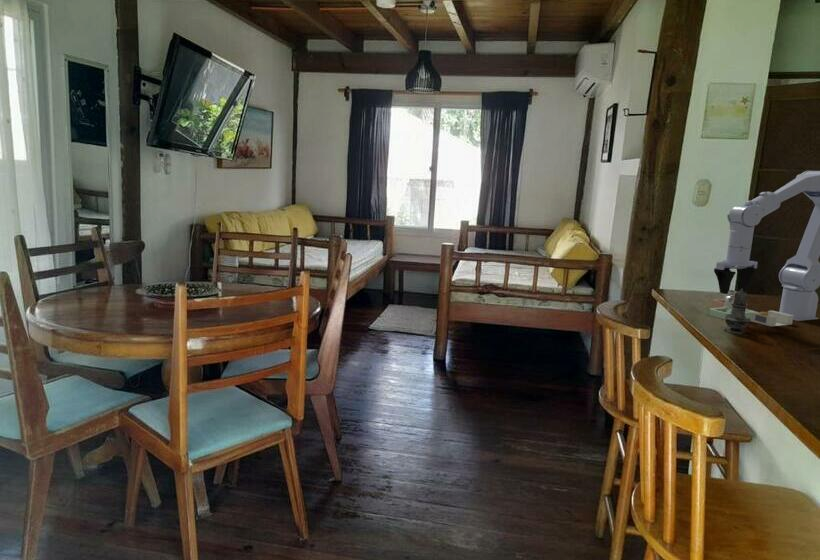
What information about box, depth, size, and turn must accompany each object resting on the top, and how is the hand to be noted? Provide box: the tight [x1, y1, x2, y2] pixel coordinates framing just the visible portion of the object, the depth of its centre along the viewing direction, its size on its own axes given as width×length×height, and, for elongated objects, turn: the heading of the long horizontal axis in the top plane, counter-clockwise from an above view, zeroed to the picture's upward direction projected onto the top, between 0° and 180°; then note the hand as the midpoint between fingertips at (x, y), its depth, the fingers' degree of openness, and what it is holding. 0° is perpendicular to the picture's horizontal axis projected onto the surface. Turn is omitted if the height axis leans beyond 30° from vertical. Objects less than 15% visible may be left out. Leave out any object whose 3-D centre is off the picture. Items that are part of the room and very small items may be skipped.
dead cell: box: [723, 289, 737, 303], centre depth 165 cm, size 4×4×6 cm
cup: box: [710, 299, 748, 309], centre depth 165 cm, size 7×7×3 cm
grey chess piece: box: [723, 289, 751, 336], centre depth 140 cm, size 6×6×12 cm
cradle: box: [749, 310, 794, 327], centre depth 151 cm, size 9×6×4 cm, turn 111°
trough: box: [706, 307, 757, 321], centre depth 157 cm, size 12×7×2 cm, turn 111°
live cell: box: [723, 295, 734, 313], centre depth 156 cm, size 4×4×6 cm
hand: (732, 292), depth 156 cm, fingers open, 7 cm apart
